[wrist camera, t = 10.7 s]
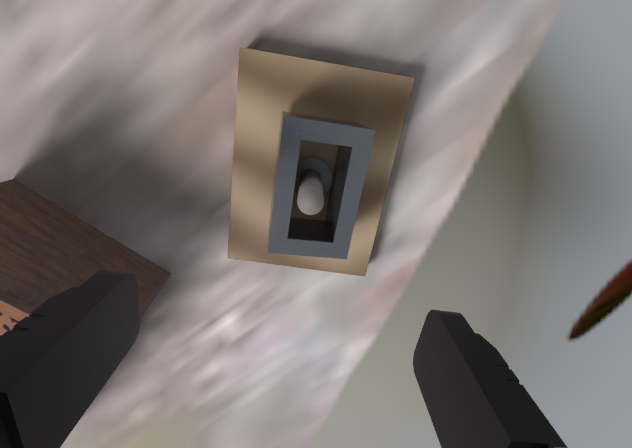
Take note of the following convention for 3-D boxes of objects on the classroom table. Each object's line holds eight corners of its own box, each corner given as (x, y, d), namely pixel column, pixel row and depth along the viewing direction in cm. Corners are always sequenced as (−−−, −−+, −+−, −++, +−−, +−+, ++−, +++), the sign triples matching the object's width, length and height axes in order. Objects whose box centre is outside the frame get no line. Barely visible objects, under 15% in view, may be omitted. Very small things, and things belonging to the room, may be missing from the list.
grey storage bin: (281, 110, 22) (283, 115, 18) (359, 123, 23) (375, 129, 19) (268, 229, 25) (267, 252, 22) (336, 235, 26) (346, 259, 23)
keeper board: (244, 50, 22) (213, 29, 15) (408, 79, 23) (449, 72, 16) (231, 250, 28) (205, 300, 21) (362, 267, 29) (378, 321, 22)
